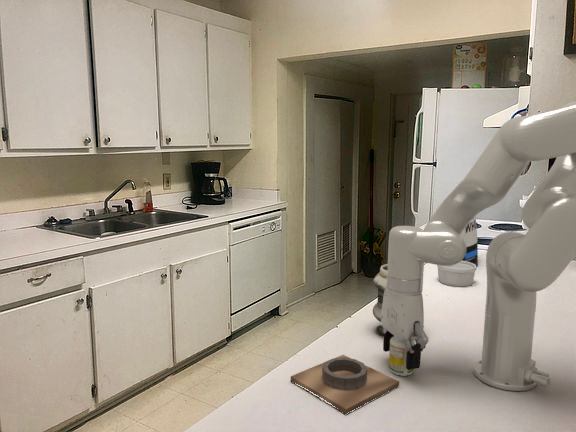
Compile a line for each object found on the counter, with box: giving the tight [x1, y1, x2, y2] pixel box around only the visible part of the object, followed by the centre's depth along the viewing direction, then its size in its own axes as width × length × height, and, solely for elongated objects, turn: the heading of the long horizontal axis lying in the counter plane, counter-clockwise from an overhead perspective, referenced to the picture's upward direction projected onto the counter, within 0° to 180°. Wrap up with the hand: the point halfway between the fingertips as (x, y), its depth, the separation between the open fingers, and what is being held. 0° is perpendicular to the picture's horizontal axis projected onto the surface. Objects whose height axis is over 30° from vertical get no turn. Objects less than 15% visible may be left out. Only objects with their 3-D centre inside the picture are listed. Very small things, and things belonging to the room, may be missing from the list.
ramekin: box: [436, 261, 477, 288], centre depth 169 cm, size 13×13×7 cm
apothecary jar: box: [372, 263, 414, 337], centre depth 124 cm, size 12×12×18 cm
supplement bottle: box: [388, 335, 416, 377], centre depth 104 cm, size 5×5×10 cm
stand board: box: [290, 354, 400, 415], centre depth 99 cm, size 16×16×4 cm
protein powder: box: [460, 216, 479, 268], centre depth 192 cm, size 10×24×30 cm, turn 152°
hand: (400, 358), depth 105 cm, fingers open, 8 cm apart
